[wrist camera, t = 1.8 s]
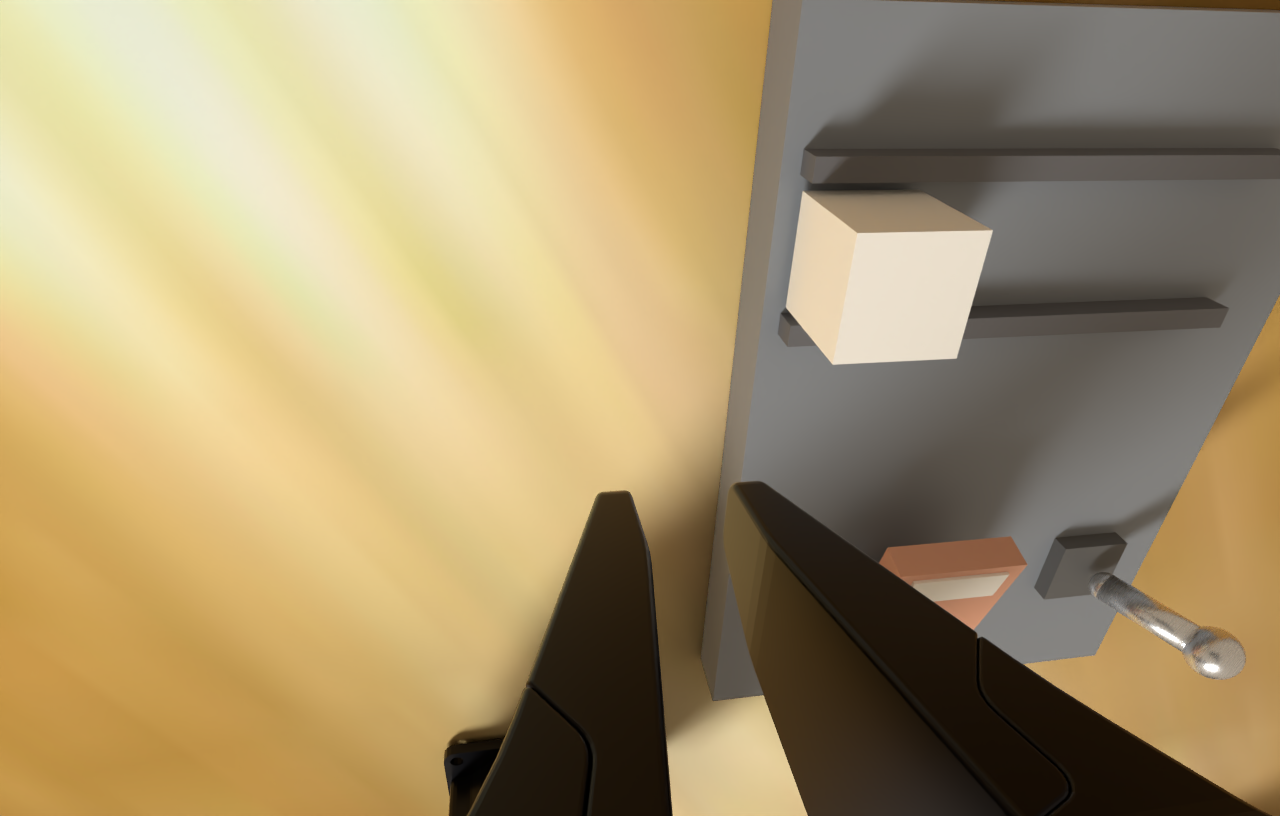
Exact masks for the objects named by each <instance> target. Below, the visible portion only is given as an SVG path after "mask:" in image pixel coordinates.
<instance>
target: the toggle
mask: <svg viewBox="0 0 1280 816" xmlns="http://www.w3.org/2000/svg"><path fill="white" fill-rule="evenodd" d="M1088 587H1089V590H1090V592H1091V594H1092V595H1093V596H1094V597H1095V598H1097V599H1098V600H1100V601H1101V602H1103V603H1105V604H1106V605H1108V606H1109V607H1111V608H1113V609H1114V610H1116V611H1117V612H1119V613H1121V614H1122V615H1124V616H1125V617H1127V618H1129V619H1130V620H1132V621H1133V622H1135V623H1137V624H1138V625H1140V626H1141V627H1143V628H1145V629H1146V630H1148V631H1149V632H1151V633H1153V634H1154V635H1156V636H1157V637H1159V638H1160V639H1162V640H1164V641H1165V642H1167V643H1168V644H1170V645H1172V646H1173V647H1175V648H1176V649H1178V650H1180V651H1181V652H1182V654H1183V657H1184V659H1185V661H1186V662H1187V664H1188V665H1189V666H1190V667H1191V668H1192V669H1193V670H1194V671H1195V672H1197V673H1198V674H1200V675H1202V676H1204V677H1207V678H1211V679H1217V680H1223V679H1229V678H1232V677H1234V676H1236V675H1237V674H1239V673H1240V672H1241V671H1242V669H1243V668H1244V666H1245V662H1246V654H1245V650H1244V648H1243V646H1242V644H1241V643H1240V641H1239V640H1238V639H1237V638H1236V637H1235V636H1234V635H1232V634H1231V633H1229V632H1228V631H1226V630H1223V629H1221V628H1217V627H1212V626H1203V627H1200V626H1199V625H1197V624H1195V623H1194V622H1192V621H1190V620H1189V619H1187V618H1185V617H1184V616H1182V615H1180V614H1179V613H1177V612H1175V611H1174V610H1172V609H1170V608H1168V607H1167V606H1165V605H1163V604H1162V603H1160V602H1158V601H1157V600H1155V599H1153V598H1152V597H1150V596H1148V595H1147V594H1145V593H1143V592H1142V591H1140V590H1138V589H1137V588H1135V587H1133V586H1131V585H1130V584H1128V583H1126V582H1125V581H1123V580H1121V579H1120V578H1118V577H1116V576H1115V575H1113V574H1111V573H1108V572H1099V573H1096V574H1094V575H1093V576H1092V577H1091V578H1090V580H1089V583H1088Z"/></svg>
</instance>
